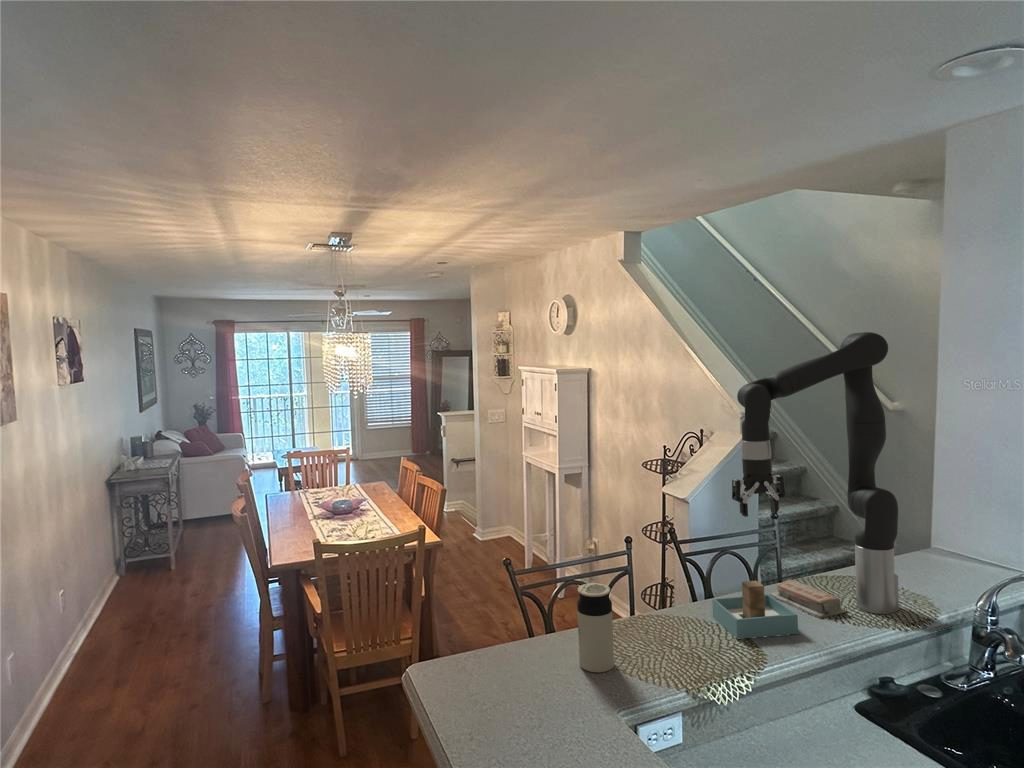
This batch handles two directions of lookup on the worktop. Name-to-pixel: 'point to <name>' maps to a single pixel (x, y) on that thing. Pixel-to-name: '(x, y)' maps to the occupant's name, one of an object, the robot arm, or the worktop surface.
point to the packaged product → (808, 599)
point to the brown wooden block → (753, 599)
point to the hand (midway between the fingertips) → (759, 514)
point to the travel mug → (595, 628)
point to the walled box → (755, 618)
